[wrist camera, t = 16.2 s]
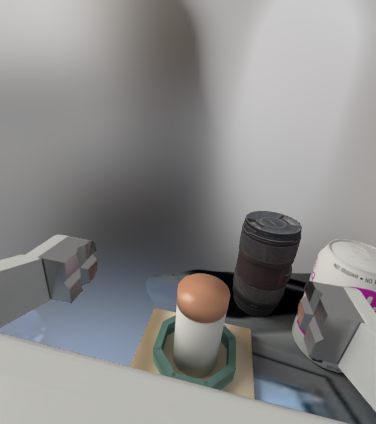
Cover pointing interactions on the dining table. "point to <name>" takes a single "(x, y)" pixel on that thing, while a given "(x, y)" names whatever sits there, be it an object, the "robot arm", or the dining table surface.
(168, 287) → the dining table surface
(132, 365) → the seat board
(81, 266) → the robot arm
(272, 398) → the dining table surface
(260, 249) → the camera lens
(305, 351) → the supplement can
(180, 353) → the lidded canister
